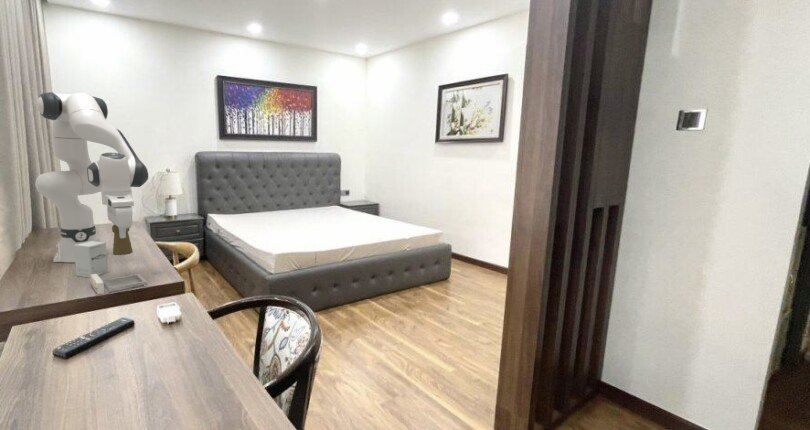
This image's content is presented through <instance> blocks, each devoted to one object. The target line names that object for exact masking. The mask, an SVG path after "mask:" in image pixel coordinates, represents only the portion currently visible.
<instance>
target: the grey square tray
mask: <svg viewBox="0 0 810 430" xmlns="http://www.w3.org/2000/svg"><path fill="white" fill-rule="evenodd" d="M102 281H103V285H104V288H105V289H106V291H108V293H115V292H120V291H125V289H127V290H130V289H129V288H132V289H134V288H133V287H137V288H139V287H138V286H142V287H145V286H144V285H147V286H148V281H147V280H146V279H145V278H144V277H143V276H142V275H141V274H140V273H135V274H129V275H123V276H118V277H112V278H106V279H102Z"/></svg>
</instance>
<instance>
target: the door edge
mask: <svg viewBox="0 0 810 430" xmlns="http://www.w3.org/2000/svg"><path fill="white" fill-rule="evenodd" d="M89 282H90V283H91V286H92V287H93V289H94V290H95V292H96V293H97V295H101V294H105V286H104V285H103V279H101V277H100V275H97V274H92V275H91V278H89Z"/></svg>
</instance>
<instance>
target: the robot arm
mask: <svg viewBox="0 0 810 430" xmlns="http://www.w3.org/2000/svg"><path fill="white" fill-rule="evenodd" d="M36 105H37V106H36V107H37V111H39V114H40V115H41V116H42V117H43V118H44V119H47V120H50V121H52V126H51V127H52V131H51V132H52V134H51V135H52V145H53V155H54V156H55V157H56V159H58V160H60V161H63V162H65V163H66V164H67V166H68V170H56V171H55V170H53V171H47V172H45V173H40V174H39V175H38V176H37V177H36V179H35V183H34V185H35V188H36V191H37V192H38V193H39V195H41V196H42V197H44V198H46V199H48V200H49V201H51V203H53V204H54V206H55V207H56V208H57V212H58V214H59V218H60V219H59V220H60V226H61V228H60V231H59V232H60V237H61V239H59V240H58V242H57V243H56V244H55V249H56V251H57V252H56V254H55V256H54V258H53V259H52V261H53V263H75V255H74V245H76V244H81V243H85V242H90V241H96V242H102V238H101V237H99V236H98V235H97V232H96V231H97V228H96V225H95V224H94V214H93V211H94V210H93V209H92V208H91V207H90V206H89V205H87V204H83V203H81V201H80V199H79V197H78V196H86V195H87V196H88V195H94V194H97V193H101V203H102V205H104V206H106V211H107V213H106V214H107V220H109V222H111V223H112V224H113V225H116V226H117V227H118V229H119V237H120V238H126V228H132V225H133V207H134V205H135V204H134V203H135V202H134V199H133V193H132V192H133V191H132V188H140V187H142V186H144V185H145V183H146V182H147V181H148V180H149V171H148V168H147V166H146V165H145V164H144V163H143V162H142V161H141V160H140V158H139V157H138V155H137V154H136V152H135V151H134V148H133V147H132V146H131V144H130V143H129V141H128V140H127V138H126V136H125V135H124V134H123V132H122V131H121V130H119V129H118V128H116V127H114V126H113V125H112V124H111V123H110V122H109V121H107V118H108V115H109V110H108V105H107V103H106V102H105V100H104V99H103V98H100V97H98V96H97V97H96V96H91V95H90V94H88V93H85V92H74V93H59V92H57V93H54V92H52V91H51V92H44V93H43V92H42V93H41V94H40V95H38V99H37V102H36ZM88 142H91V143H96V144H100V145H103V146H107V147H110V148H112V149H113V150H115V151H116V152H105V153H102V154H100V155H99V159H98V160H97V161H95V162H94V161H93V162H92V161H91V158H90V155H89V147H88Z"/></svg>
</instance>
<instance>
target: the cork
mask: <svg viewBox="0 0 810 430" xmlns="http://www.w3.org/2000/svg"><path fill="white" fill-rule="evenodd" d="M111 231H112V232H113V243H112V244H113V246H112V247H113V248H112V255H113V256H125V255H126V256H127V255H130V254H133V247H132V244H131V239H130V234H129V231H130V228H126V238H120V237H119V229H118V227H117V226H116V225H114V224H113V225H112V227H111Z"/></svg>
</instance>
